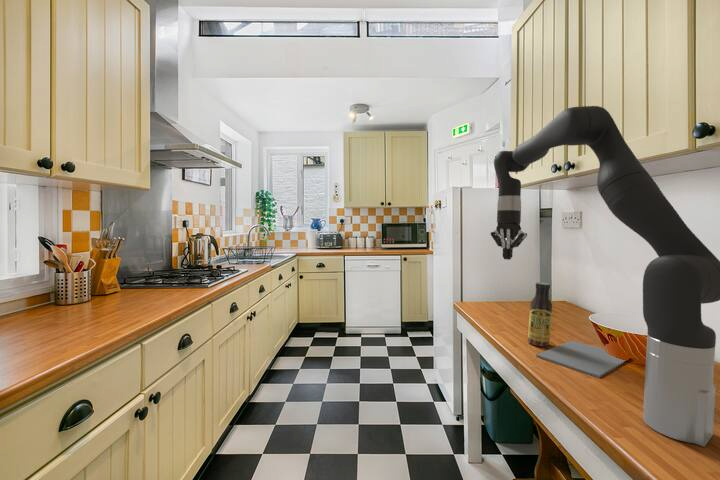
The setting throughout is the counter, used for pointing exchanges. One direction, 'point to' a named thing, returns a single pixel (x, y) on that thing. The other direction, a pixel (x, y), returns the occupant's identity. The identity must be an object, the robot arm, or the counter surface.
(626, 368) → the counter surface
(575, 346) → the mat
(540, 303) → the sauce bottle
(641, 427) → the counter surface
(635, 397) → the counter surface
